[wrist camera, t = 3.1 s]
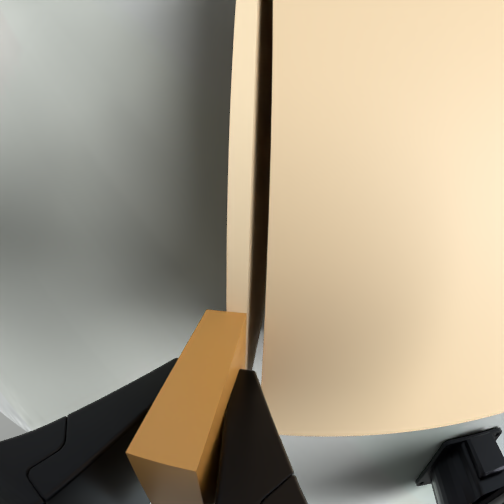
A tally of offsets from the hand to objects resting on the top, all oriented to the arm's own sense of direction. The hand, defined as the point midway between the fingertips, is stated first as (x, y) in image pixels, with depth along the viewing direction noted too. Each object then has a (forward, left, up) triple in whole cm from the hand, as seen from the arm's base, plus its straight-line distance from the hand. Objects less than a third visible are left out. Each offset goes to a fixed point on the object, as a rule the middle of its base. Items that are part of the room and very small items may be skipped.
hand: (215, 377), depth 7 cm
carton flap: (+6, 0, -7) cm, 9 cm away
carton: (+6, -9, -7) cm, 13 cm away
